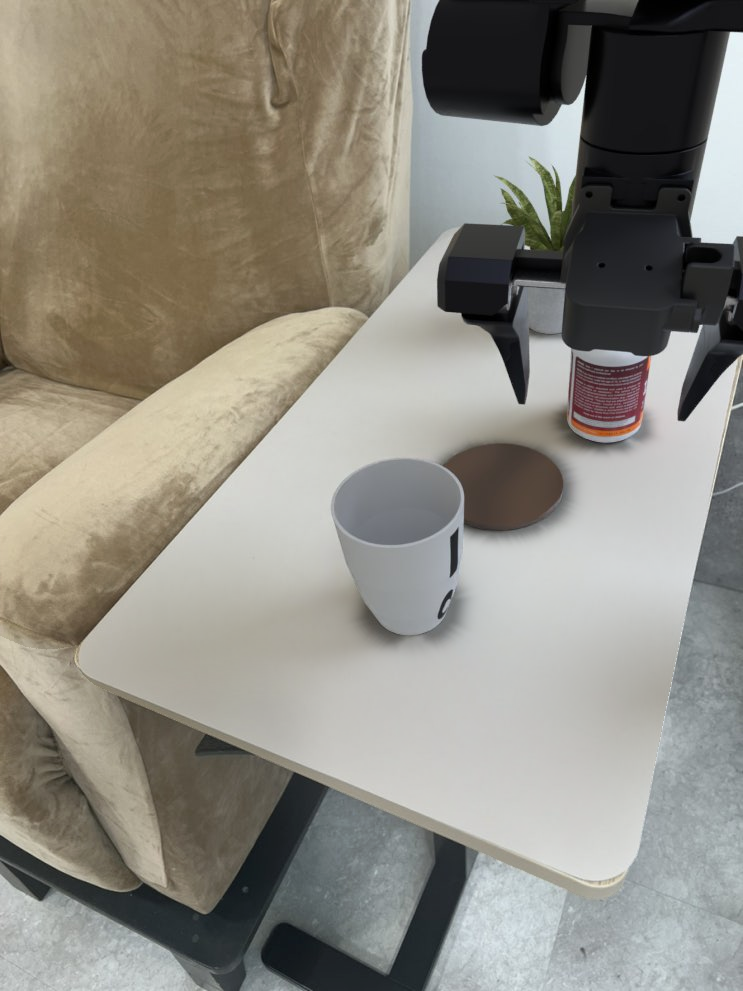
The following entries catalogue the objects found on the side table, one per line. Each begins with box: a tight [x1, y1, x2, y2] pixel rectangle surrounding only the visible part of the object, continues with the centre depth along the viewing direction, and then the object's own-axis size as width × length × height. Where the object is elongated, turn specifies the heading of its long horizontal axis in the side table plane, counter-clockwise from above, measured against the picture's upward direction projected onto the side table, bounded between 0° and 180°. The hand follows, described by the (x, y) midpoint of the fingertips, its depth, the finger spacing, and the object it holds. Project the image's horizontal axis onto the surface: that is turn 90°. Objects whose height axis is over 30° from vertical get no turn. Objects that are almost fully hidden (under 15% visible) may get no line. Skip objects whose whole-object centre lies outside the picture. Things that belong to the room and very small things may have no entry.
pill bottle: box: [566, 348, 652, 443], centre depth 62 cm, size 6×6×11 cm
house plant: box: [494, 156, 576, 335], centre depth 74 cm, size 14×14×16 cm
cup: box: [330, 456, 465, 636], centre depth 50 cm, size 8×8×10 cm
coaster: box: [442, 442, 564, 531], centre depth 61 cm, size 10×10×1 cm
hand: (599, 409), depth 46 cm, fingers open, 9 cm apart
